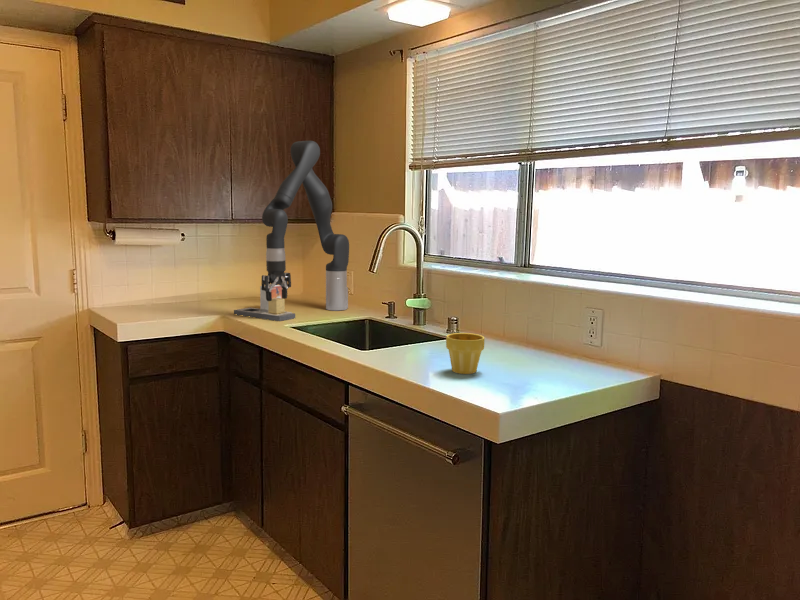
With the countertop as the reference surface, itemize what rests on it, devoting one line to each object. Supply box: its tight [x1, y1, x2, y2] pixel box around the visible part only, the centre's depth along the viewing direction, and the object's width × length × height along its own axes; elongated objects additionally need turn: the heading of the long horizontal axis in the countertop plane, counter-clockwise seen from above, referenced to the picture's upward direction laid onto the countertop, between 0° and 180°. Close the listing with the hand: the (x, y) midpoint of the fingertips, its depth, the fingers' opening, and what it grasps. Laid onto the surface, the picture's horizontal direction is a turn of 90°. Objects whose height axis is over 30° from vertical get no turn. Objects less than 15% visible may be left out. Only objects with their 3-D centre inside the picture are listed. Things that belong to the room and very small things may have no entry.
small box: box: [259, 285, 282, 310], centre depth 283 cm, size 8×6×10 cm
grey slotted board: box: [233, 307, 296, 322], centre depth 264 cm, size 9×26×2 cm, turn 56°
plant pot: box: [445, 332, 486, 375], centre depth 176 cm, size 10×10×10 cm
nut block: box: [268, 298, 286, 314], centre depth 259 cm, size 4×4×8 cm
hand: (277, 299), depth 259 cm, fingers open, 8 cm apart
